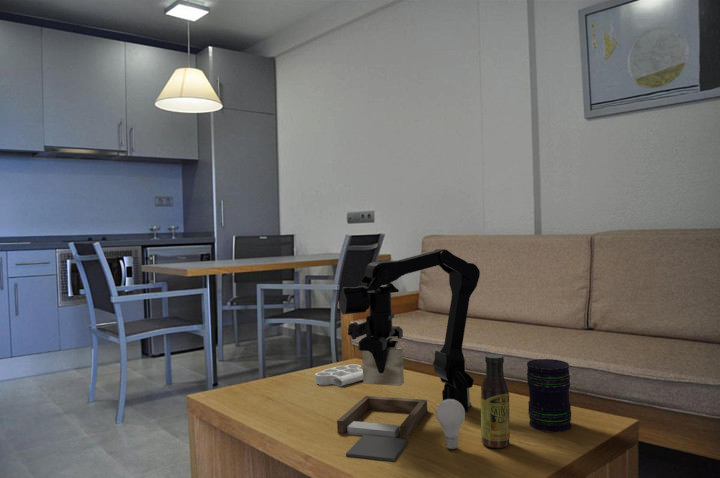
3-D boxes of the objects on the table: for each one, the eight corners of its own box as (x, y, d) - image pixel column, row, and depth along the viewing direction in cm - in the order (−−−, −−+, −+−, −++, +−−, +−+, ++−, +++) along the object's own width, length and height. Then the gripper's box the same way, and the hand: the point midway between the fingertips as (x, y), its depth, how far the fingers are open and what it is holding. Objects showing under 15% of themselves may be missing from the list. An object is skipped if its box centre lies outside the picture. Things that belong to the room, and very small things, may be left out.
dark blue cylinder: (553, 435, 128) (550, 371, 128) (520, 424, 136) (517, 363, 136) (580, 426, 133) (578, 364, 133) (547, 415, 142) (544, 357, 141)
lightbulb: (471, 452, 121) (469, 401, 121) (445, 456, 119) (443, 405, 119) (458, 441, 127) (456, 393, 127) (433, 445, 125) (430, 397, 125)
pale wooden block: (403, 382, 143) (402, 347, 142) (400, 385, 140) (399, 350, 140) (367, 380, 146) (365, 346, 146) (363, 383, 143) (361, 348, 143)
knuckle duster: (334, 390, 173) (307, 382, 184) (376, 378, 185) (348, 371, 196) (334, 380, 173) (306, 372, 184) (376, 368, 185) (348, 362, 196)
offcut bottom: (400, 434, 135) (400, 430, 134) (395, 441, 131) (395, 436, 131) (353, 431, 139) (353, 426, 139) (348, 437, 135) (347, 432, 135)
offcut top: (399, 430, 134) (399, 425, 134) (394, 436, 131) (394, 431, 131) (353, 425, 139) (353, 421, 139) (347, 431, 135) (347, 426, 135)
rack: (427, 411, 149) (426, 399, 149) (406, 439, 130) (406, 426, 130) (366, 406, 155) (365, 395, 155) (337, 432, 136) (337, 420, 136)
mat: (408, 441, 128) (407, 439, 128) (394, 461, 118) (394, 458, 118) (363, 437, 132) (363, 435, 132) (346, 456, 122) (345, 453, 122)
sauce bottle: (493, 452, 120) (489, 360, 120) (475, 442, 126) (472, 355, 126) (517, 446, 123) (513, 356, 123) (499, 436, 129) (496, 351, 128)
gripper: (363, 305, 154) (366, 361, 154) (337, 316, 137) (340, 379, 137) (402, 305, 150) (404, 363, 151) (380, 317, 133) (383, 382, 133)
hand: (383, 371), depth 143 cm, fingers closed on pale wooden block, 3 cm apart
